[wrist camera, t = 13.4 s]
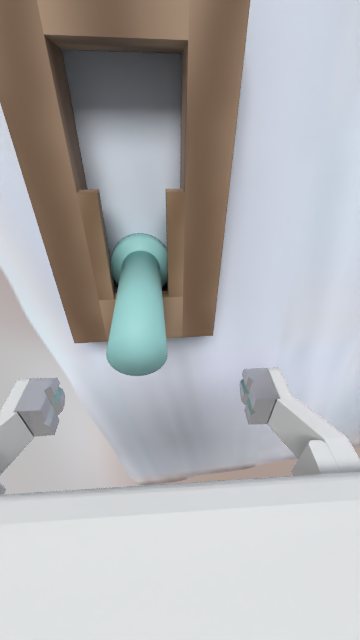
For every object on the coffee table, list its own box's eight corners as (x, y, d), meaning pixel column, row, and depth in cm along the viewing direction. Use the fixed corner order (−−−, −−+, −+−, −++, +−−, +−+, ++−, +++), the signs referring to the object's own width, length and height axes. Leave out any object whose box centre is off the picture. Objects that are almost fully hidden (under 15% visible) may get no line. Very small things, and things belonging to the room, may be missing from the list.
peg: (170, 232, 21) (186, 314, 12) (170, 286, 24) (183, 383, 15) (107, 233, 20) (77, 319, 11) (115, 288, 23) (96, 389, 14)
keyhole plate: (234, 8, 14) (251, -15, 11) (206, 315, 26) (212, 335, 23) (-7, -4, 13) (-42, -33, 10) (81, 322, 25) (74, 343, 22)
